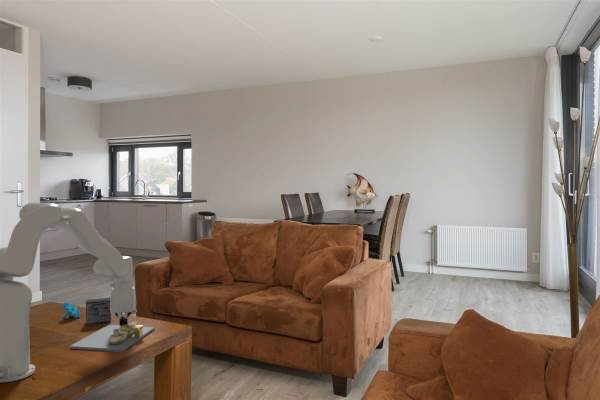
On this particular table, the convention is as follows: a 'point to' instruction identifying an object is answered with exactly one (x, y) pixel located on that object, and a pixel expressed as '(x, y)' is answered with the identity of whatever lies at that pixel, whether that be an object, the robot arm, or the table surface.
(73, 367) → the table surface
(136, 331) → the keeper
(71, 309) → the blue irregular piece
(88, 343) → the board
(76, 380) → the table surface
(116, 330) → the link
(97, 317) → the small box
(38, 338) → the table surface
